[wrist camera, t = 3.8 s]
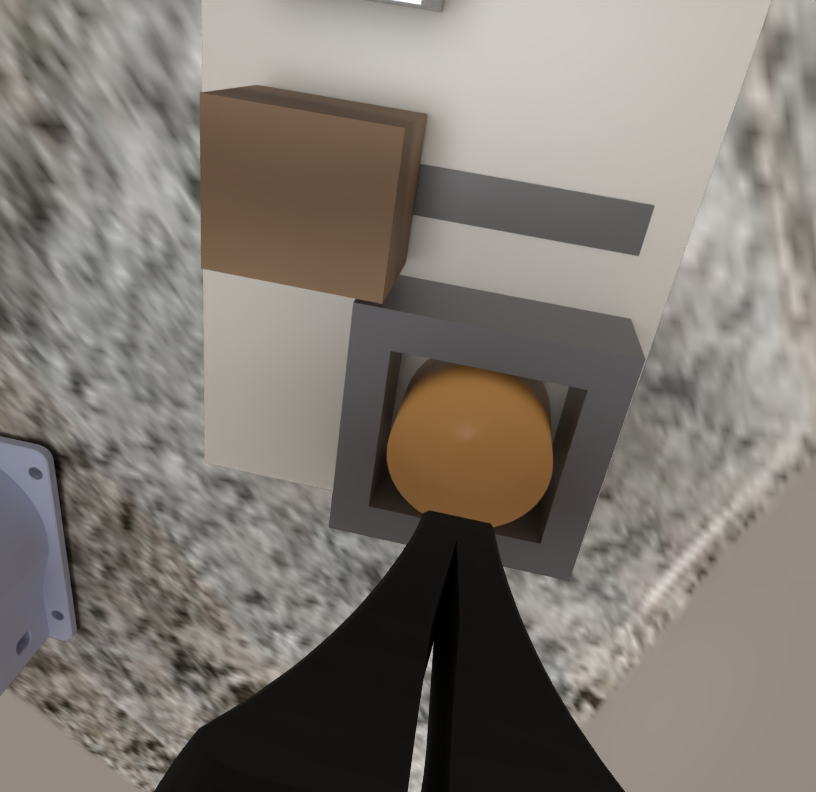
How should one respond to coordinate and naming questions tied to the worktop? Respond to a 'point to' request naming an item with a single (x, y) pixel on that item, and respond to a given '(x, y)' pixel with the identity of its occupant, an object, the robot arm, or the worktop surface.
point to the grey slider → (416, 4)
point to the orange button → (472, 443)
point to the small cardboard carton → (307, 189)
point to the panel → (478, 233)
